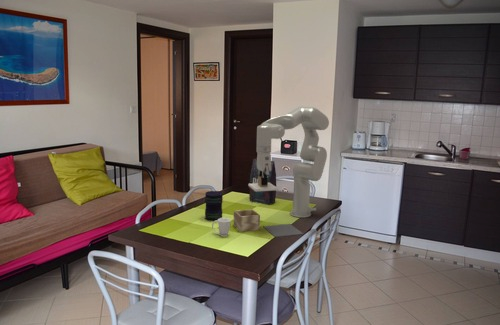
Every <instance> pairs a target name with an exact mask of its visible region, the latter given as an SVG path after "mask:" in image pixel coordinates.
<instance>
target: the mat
mask: <svg viewBox="0 0 500 325" xmlns="http://www.w3.org/2000/svg"><path fill="white" fill-rule="evenodd" d="M262 228H264V229H265V230H266V231H267V232H269V233H270V234H271V235H272V236H273V237H274V238H279V237H281V238H282V237H290V236H291V237H292V236H299V235H304V233H303V232H302V231H300V230H299V229H298V228H296V227H295V226H294V225H292V224H291V223H284V224H273V225H265V226H264V225H263V227H262Z"/></svg>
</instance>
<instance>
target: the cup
mask: <svg viewBox="0 0 500 325" xmlns="http://www.w3.org/2000/svg"><path fill="white" fill-rule="evenodd" d="M231 222H232V219H231V218H228V217H222V218H220V219H218V220H216V221H212V224H211V228H212V230H213V231H214V232H215V234H217V235H219V236H220V237H227V236H228V237H229V233H230V228H231ZM215 223H218V224H217V225H218V231H219V232H218V231H217V230H216V229H215V228H214V224H215Z"/></svg>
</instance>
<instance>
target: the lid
mask: <svg viewBox="0 0 500 325" xmlns="http://www.w3.org/2000/svg"><path fill="white" fill-rule="evenodd" d="M261 183H262V176H258V183H253V184H250V183H248V185H247V186H248V188H249V187H250V188H252V189H253V190H254V191H255V192H257V191H272V190H276V191H278V187H277V185H276V186H274V185H272V184H271V183H268V184H267V185H262V184H261Z"/></svg>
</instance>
